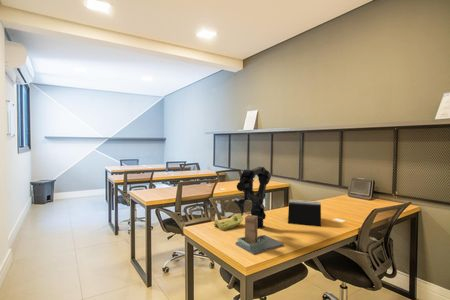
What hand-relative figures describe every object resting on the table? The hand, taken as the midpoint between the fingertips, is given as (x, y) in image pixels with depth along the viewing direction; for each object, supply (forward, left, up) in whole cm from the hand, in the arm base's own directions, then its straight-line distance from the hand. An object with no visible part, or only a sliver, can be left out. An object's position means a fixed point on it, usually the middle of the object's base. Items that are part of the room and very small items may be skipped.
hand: (248, 213), depth 163 cm
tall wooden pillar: (+11, +16, -12) cm, 23 cm away
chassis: (+7, +19, -13) cm, 24 cm away
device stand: (-53, +2, -14) cm, 55 cm away
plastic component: (+3, -18, -14) cm, 23 cm away
